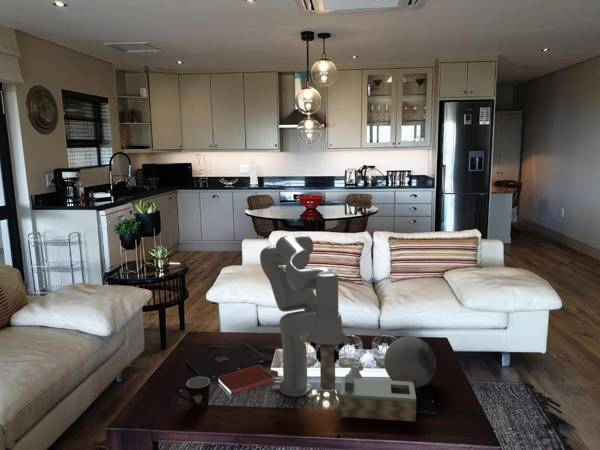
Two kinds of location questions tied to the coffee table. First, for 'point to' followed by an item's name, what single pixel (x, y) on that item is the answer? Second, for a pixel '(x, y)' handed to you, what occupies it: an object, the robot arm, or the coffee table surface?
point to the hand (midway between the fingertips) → (327, 360)
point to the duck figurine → (356, 370)
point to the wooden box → (379, 408)
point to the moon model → (410, 361)
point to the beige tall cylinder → (327, 366)
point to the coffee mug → (197, 392)
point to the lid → (375, 389)
